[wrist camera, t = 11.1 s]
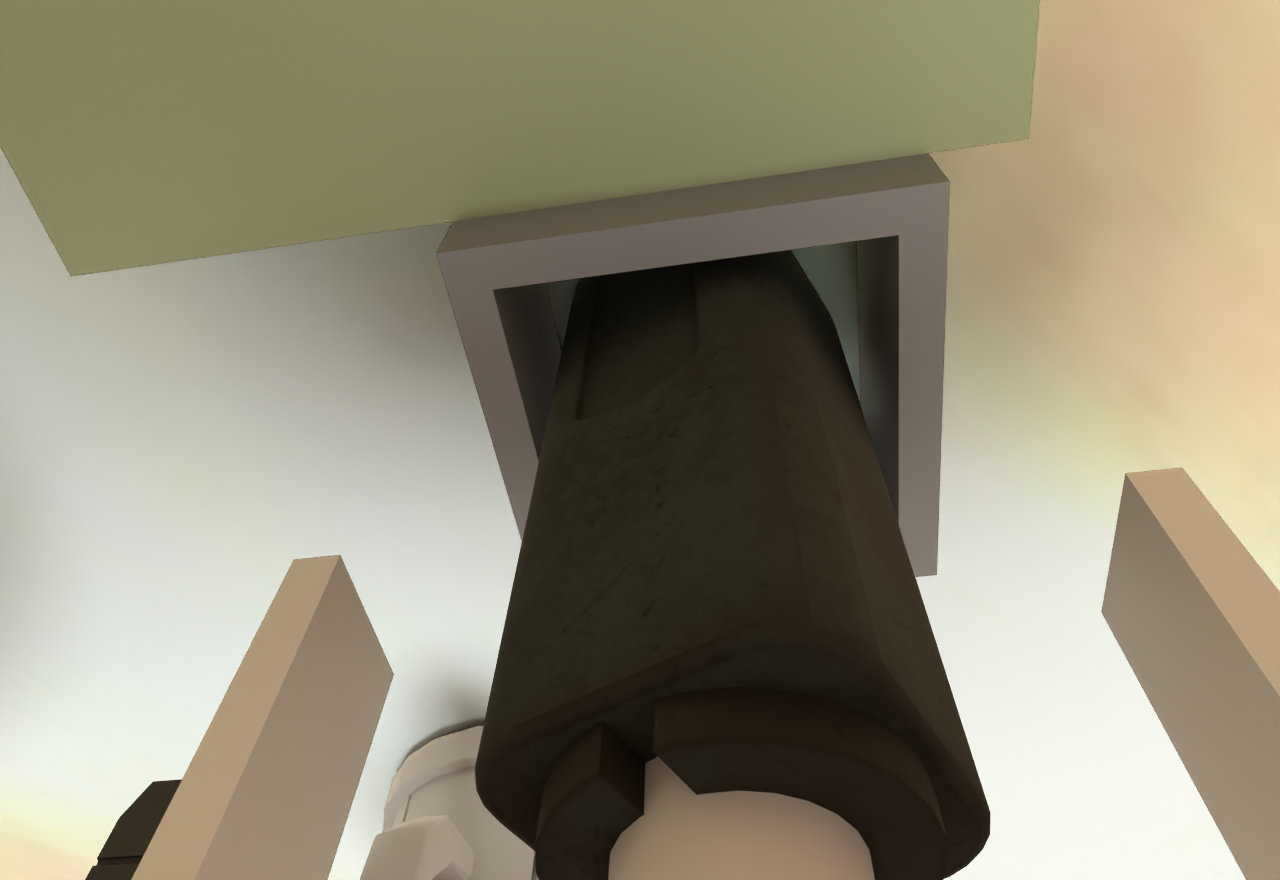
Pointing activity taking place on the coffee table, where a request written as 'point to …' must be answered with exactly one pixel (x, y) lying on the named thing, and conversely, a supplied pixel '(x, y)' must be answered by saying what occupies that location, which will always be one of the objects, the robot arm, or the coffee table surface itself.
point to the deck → (534, 158)
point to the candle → (719, 608)
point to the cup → (444, 821)
